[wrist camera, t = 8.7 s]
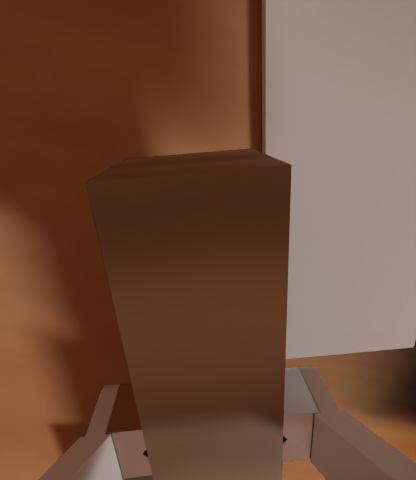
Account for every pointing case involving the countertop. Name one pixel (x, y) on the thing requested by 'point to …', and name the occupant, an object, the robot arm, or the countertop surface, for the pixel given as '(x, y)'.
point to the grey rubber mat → (345, 168)
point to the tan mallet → (201, 305)
